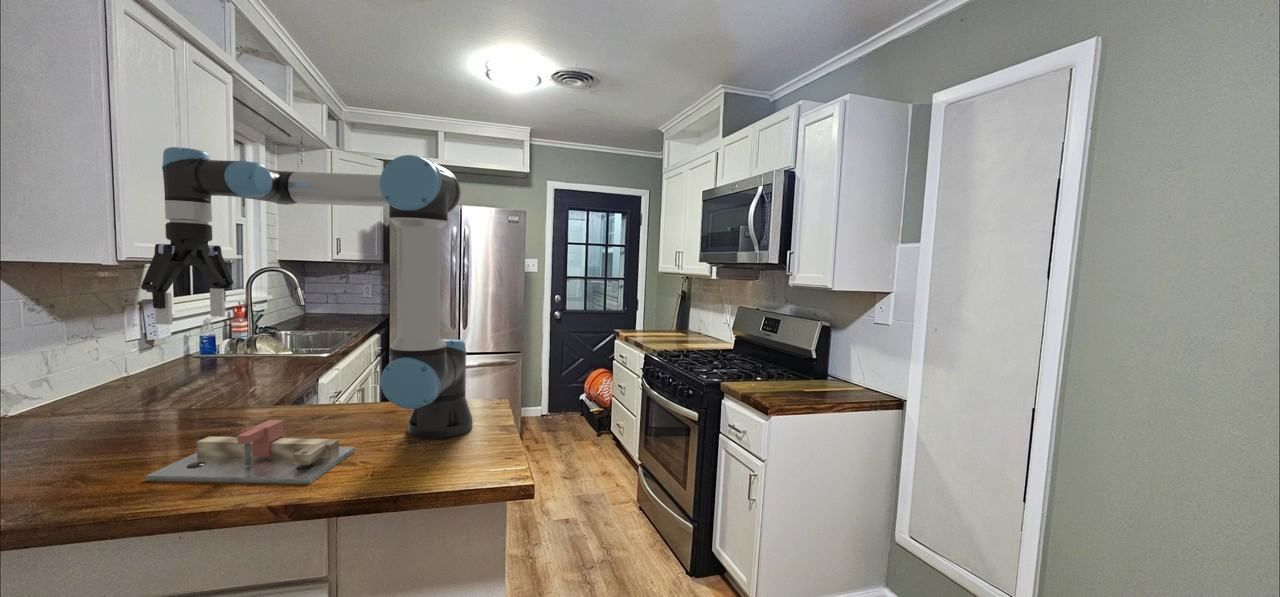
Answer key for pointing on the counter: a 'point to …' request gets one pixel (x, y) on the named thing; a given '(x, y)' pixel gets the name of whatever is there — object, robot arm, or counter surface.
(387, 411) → the counter surface
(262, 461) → the steel plate
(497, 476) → the counter surface
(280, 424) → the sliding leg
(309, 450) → the beam with fixed leg
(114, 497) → the counter surface
